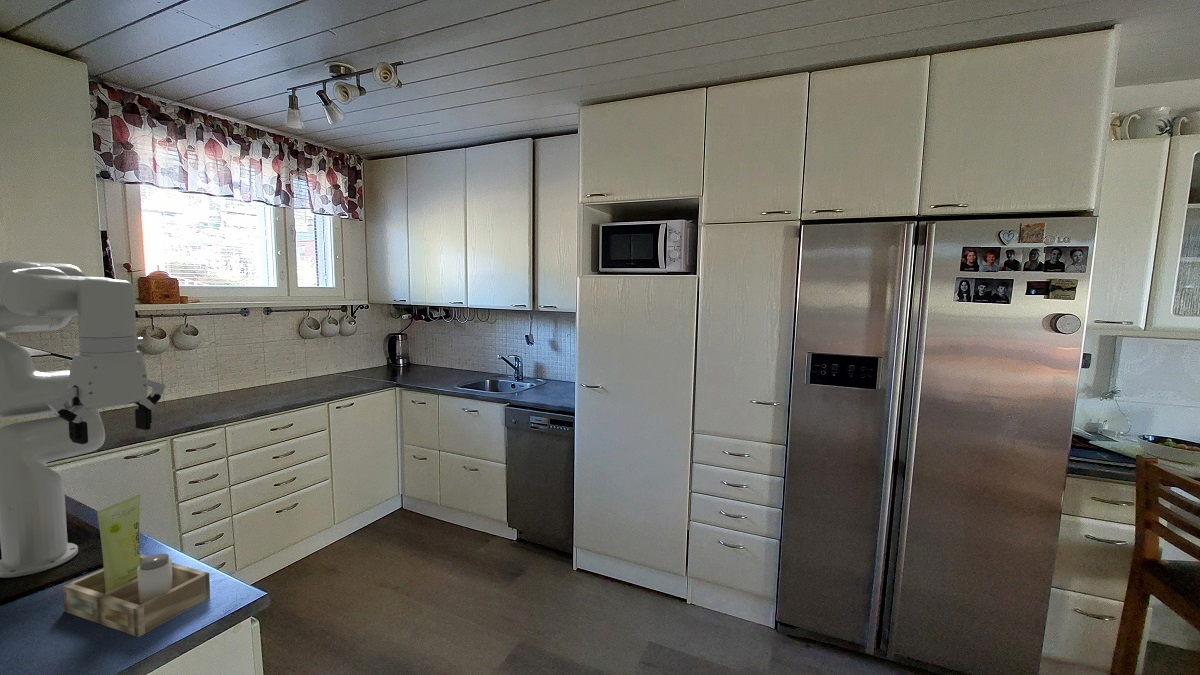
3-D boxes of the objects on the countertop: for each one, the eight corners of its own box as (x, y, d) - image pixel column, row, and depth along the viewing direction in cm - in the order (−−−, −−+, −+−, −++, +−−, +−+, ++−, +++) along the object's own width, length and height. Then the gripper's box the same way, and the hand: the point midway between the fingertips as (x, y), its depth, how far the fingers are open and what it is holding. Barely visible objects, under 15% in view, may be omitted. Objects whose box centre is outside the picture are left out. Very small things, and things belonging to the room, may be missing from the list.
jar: (132, 614, 92) (130, 563, 91) (162, 599, 96) (160, 550, 95) (150, 620, 90) (148, 568, 89) (179, 604, 95) (177, 555, 94)
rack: (63, 616, 92) (61, 586, 91) (140, 580, 103) (139, 553, 103) (137, 642, 86) (135, 610, 85) (210, 601, 98) (209, 573, 97)
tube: (138, 601, 95) (134, 504, 93) (101, 610, 92) (96, 510, 91) (143, 586, 100) (139, 493, 98) (108, 594, 97) (104, 498, 95)
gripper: (149, 340, 101) (152, 422, 102) (31, 348, 84) (37, 446, 86) (175, 343, 98) (178, 426, 100) (59, 352, 82) (65, 452, 84)
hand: (113, 435), depth 93 cm, fingers open, 9 cm apart
